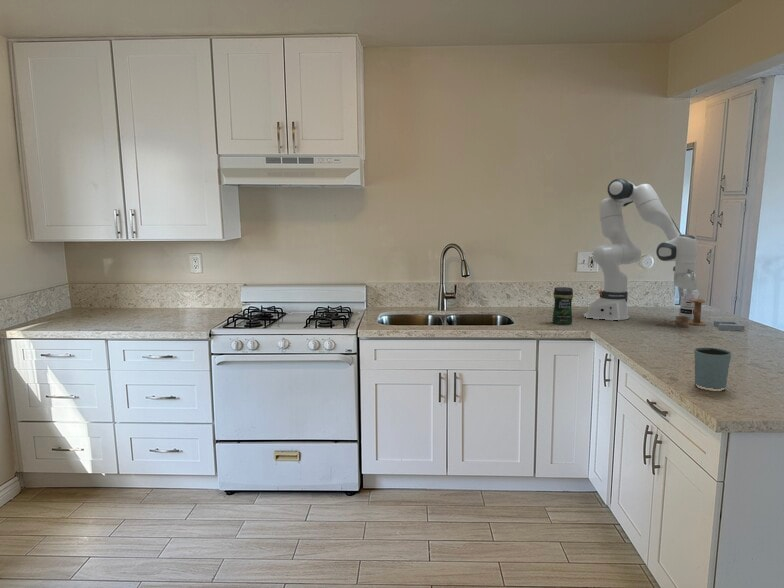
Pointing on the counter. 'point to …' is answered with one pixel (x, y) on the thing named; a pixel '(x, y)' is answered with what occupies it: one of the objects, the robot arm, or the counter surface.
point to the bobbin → (697, 312)
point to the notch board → (728, 325)
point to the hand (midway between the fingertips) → (684, 297)
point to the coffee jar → (562, 305)
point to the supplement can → (688, 304)
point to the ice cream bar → (681, 321)
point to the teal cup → (711, 367)
